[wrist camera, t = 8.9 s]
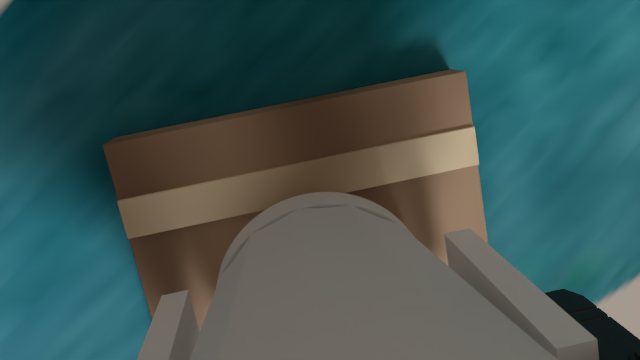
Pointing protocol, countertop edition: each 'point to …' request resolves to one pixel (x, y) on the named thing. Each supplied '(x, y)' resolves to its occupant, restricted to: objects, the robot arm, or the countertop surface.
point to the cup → (347, 292)
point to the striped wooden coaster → (295, 173)
